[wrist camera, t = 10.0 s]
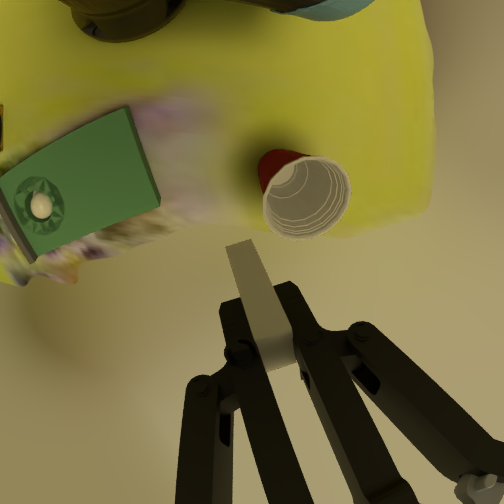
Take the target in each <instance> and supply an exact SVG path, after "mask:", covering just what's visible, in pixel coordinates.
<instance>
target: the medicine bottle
mask: <svg viewBox="0 0 504 504" xmlns="http://www.w3.org/2000/svg"><path fill="white" fill-rule="evenodd" d="M2 118H3V106H2V105H0V152H1V151H2V150H3V136H2Z"/></svg>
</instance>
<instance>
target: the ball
mask: <svg viewBox="0 0 504 504" xmlns="http://www.w3.org/2000/svg"><path fill="white" fill-rule="evenodd" d="M31 211H32V213H33V214H34V215H35V216H36V217H37V218H40V219H44V218H47V217H49V216H50V215H51V214H52V203H51V201H50V199H49V197H48V196H47V195H46V194H45V193H44V192H42V191H39V192H37V193H36V194H35V195H34V196H33V198H32V200H31Z"/></svg>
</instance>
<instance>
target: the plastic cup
mask: <svg viewBox="0 0 504 504" xmlns="http://www.w3.org/2000/svg"><path fill="white" fill-rule="evenodd" d="M258 176H259V179H260V184H261V188H262V192H263V217H264V219H265V221H266V223H267V225H268V227H269V229H270V230H271V231H273V232H274V233H276V234H277V235H278V236H280V237H281V238H284V239H290V240H294V241H301V240H307V239H313V238H315V237H317V236H319V235H321V234H323V233H325V232H327V231H329V230H330V229H331V228H332V227H333V226H334V225H335V224H336V223H337V222H338V221H340V220H341V218H342V216H343V214H344V213H345V211H346V209H347V207H348V206H349V202H350V196H351V190H352V189H351V184H350V180H349V176H348V174H347V172H346V171H345V170H344V169H343V168H342V166H341V165H340V164H339V163H338V162H336V161H333V160H331V159H329V158H326V157H324V156H310V155H305V154H301V153H298V152H294V151H291V150H284V149H277V150H272V151H270V152H268V153H266V154H265V155H264V156H263V157H262V159H261V160H260V163H259V166H258Z"/></svg>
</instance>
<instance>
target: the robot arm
mask: <svg viewBox="0 0 504 504" xmlns="http://www.w3.org/2000/svg"><path fill="white" fill-rule="evenodd" d="M59 1H61V2H62V3H64V4H66V5H68V6H69V7H71V13H72V17H73V19H74V21H75V23H76V25H77V26H78V27H79V29H80V30H81V31H83V32H84V33H85V34H87V35H89V36H91V37H93V38H95V39H97V40H100V41H104V42H112V43H120V42H128V41H133V40H137V39H140V38H143V37H146V36H148V35H150V34H152V33H154V32H156V31H158V30H159V29H161V28H163V27H164V26H165V25H167V24H168V23H169V22H170V21H171V20H173V19H174V18H175V17H176V16H177V14H178V13H179V12H180V11H181V9H182V8H183V7H184V5H185V3H186V1H187V0H59ZM227 1H234V2H239V3H245V4H250V5H255V6H259V7H264V8H268V9H270V11H272V12H275V13H278V14H284V15H285V14H287V15H295V16H299V17H302V18H306V19H309V20H313V21H336V20H340V19H343V18H346V17H349V16H351V15H353V14H355V13H357V12H359V11H361V10H362V9H364V8H365V7H367V6H368V5H369V4H371V3H372V2H373V1H374V0H227ZM225 248H226V251H227V254H228V258H229V261H230V264H231V268H232V271H233V274H234V277H235V281H236V284H237V287H238V290H239V293H240V297H239V298H236V299H233V300H230V301H226V302H223V303H221V306H220V309H219V315H220V319H221V324H222V328H223V333H224V337H225V341H226V347H225V349H224V356H225V358H226V360H227V362H226V364H225V365H224V367H223V368H222V369H220V370H219V371H218V372H216V373H214V374H213V375H211V376H209V375H198V376H196V377H194V378H192V379H191V380H190V382H189V383H188V385H187V388H186V393H185V401H184V409H183V418H182V427H181V437H180V446H179V456H178V468H177V480H176V494H175V504H232V482H233V481H232V480H233V426H234V411H235V410H237V409H238V408H240V409H241V413H242V416H243V420H244V423H245V427H246V431H247V434H248V438H249V441H250V444H251V448H252V452H253V455H254V458H255V462H256V465H257V468H258V472H259V475H260V478H261V481H262V484H263V487H264V490H265V494H266V497H267V500H268V503H269V504H314V502H313V499H312V497H311V494H310V492H309V489H308V486H307V484H306V481H305V479H304V476H303V473H302V471H301V468H300V465H299V463H298V460H297V457H296V455H295V452H294V449H293V446H292V444H291V441H290V438H289V435H288V433H287V430H286V427H285V424H284V422H283V419H282V416H281V413H280V410H279V408H278V405H277V402H276V399H275V396H274V393H273V390H272V387H271V384H270V382H269V379H268V376H267V373H266V372H269V371H272V370H275V369H279V368H281V367H284V366H287V365H290V364H293V363H296V360H297V362H298V364H299V367H300V376H301V380H302V379H303V380H304V383H305V385H306V387H307V390H308V392H309V395H310V397H311V399H312V402H313V404H314V407H315V409H316V411H317V414H318V416H319V418H320V421H321V423H322V425H323V428H324V430H325V433H326V435H327V437H328V440H329V442H330V445H331V447H332V449H333V452H334V454H335V456H336V459H337V461H338V463H339V466H340V468H341V471H342V473H343V475H344V478H345V480H346V482H347V485H348V487H349V489H350V492H351V494H352V497H353V502H354V504H419V502H418V500H417V498H416V496H415V494H414V492H413V490H412V488H411V486H410V484H409V483H408V482H407V481H406V480H405V479H403V478H402V477H401V476H400V474H399V472H398V470H397V468H396V466H395V464H394V462H393V460H392V458H391V456H390V454H389V452H388V449H387V448H386V445H385V443H384V441H383V439H382V437H381V435H380V433H379V432H378V429H377V428H376V425H375V423H374V422H373V419H372V418H371V416H370V414H369V412H368V410H367V408H366V406H365V404H364V402H363V400H362V398H361V396H360V394H359V392H358V390H357V388H356V387H355V385H354V383H353V381H354V382H355V383H356V384H357V385H358V386H359V387H360V388H361V389H362V390H363V391H364V393H365V394H366V395H367V396H368V397H369V398H370V399H371V400H372V401H373V402H374V403H375V404H376V406H377V407H378V408H379V409H380V410H381V411H382V412H383V413H384V414H385V415H386V416H387V417H388V418H389V419H390V421H391V422H392V423H393V424H394V425H395V426H396V427H397V428H398V429H399V430H400V431H401V432H402V433H403V434H404V435H405V436H406V437H407V439H408V440H410V442H411V443H412V444H413V445H414V446H415V447H416V448H417V449H418V450H419V451H420V452H421V453H422V454H423V455H424V456H425V458H426V459H427V460H428V461H429V462H430V463H431V464H432V465H433V466H434V467H435V468H436V469H437V470H438V471H439V472H440V473H442V474H443V475H444V476H445V477H447V478H448V479H450V480H451V481H454V482H456V483H458V484H457V486H456V487H455V489H454V493H455V495H456V497H457V498H458V499H459V500H460V501H461V502H462V503H463V504H499V503H500V501H501V499H502V497H503V495H504V442H501V441H498V440H495V439H493V438H492V437H491V436H490V435H489V434H488V433H487V432H486V431H485V430H484V429H483V428H482V427H481V426H480V425H479V424H478V423H477V422H476V421H475V420H474V419H473V418H472V417H471V416H470V415H469V414H468V413H467V412H466V411H465V410H464V409H463V408H462V407H461V406H460V405H459V404H458V403H457V402H456V401H454V399H453V398H451V397H450V396H449V395H448V394H447V393H446V392H445V391H444V390H443V389H442V388H441V387H440V386H439V385H438V384H437V383H436V382H435V381H434V380H432V379H431V378H430V377H429V376H428V375H427V374H426V373H425V372H424V371H423V370H422V369H421V368H420V367H419V366H418V365H416V364H415V363H414V362H413V361H412V360H411V359H410V358H409V357H408V356H407V355H406V354H405V353H404V352H402V351H401V350H400V349H399V348H398V347H397V346H396V345H395V344H394V343H393V342H392V341H390V340H389V339H388V338H387V337H386V336H385V335H384V334H383V333H382V332H380V331H379V330H378V329H377V328H376V327H375V326H374V325H372V324H371V323H369V322H365V321H361V322H356V323H354V324H352V325H351V326H350V327H349V329H348V330H342V331H329V330H326V329H324V328H322V327H321V326H319V324H318V323H317V321H316V319H315V317H314V316H313V314H312V312H311V310H310V308H309V306H308V305H307V303H306V301H305V299H304V297H303V295H302V294H301V292H300V290H299V288H298V286H296V285H295V284H294V283H292V282H291V281H287V282H284V283H282V284H278V285H275V286H272V283H271V282H270V279H269V277H268V275H267V273H266V270H265V268H264V266H263V264H262V262H261V259H260V257H259V255H258V253H257V251H256V249H255V247H254V244H253V242H252V240H251V239H249V240H246V241H243V242H239V243H237V244H233V245H230V246H226V247H225ZM352 380H353V381H352Z"/></svg>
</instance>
